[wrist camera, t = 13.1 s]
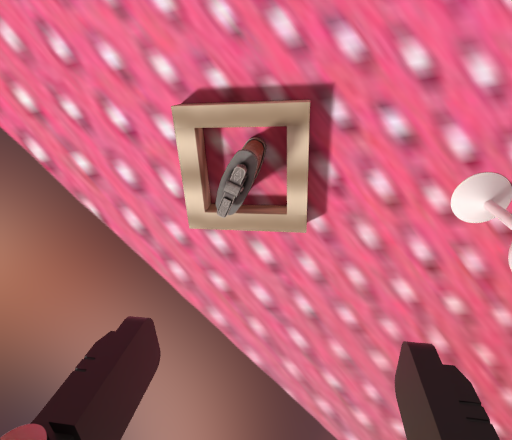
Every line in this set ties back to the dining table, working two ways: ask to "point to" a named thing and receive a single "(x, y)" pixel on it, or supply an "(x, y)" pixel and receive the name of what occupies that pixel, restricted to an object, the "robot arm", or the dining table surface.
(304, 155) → the square beige frame
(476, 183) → the champagne flute
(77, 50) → the dining table surface
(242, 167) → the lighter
